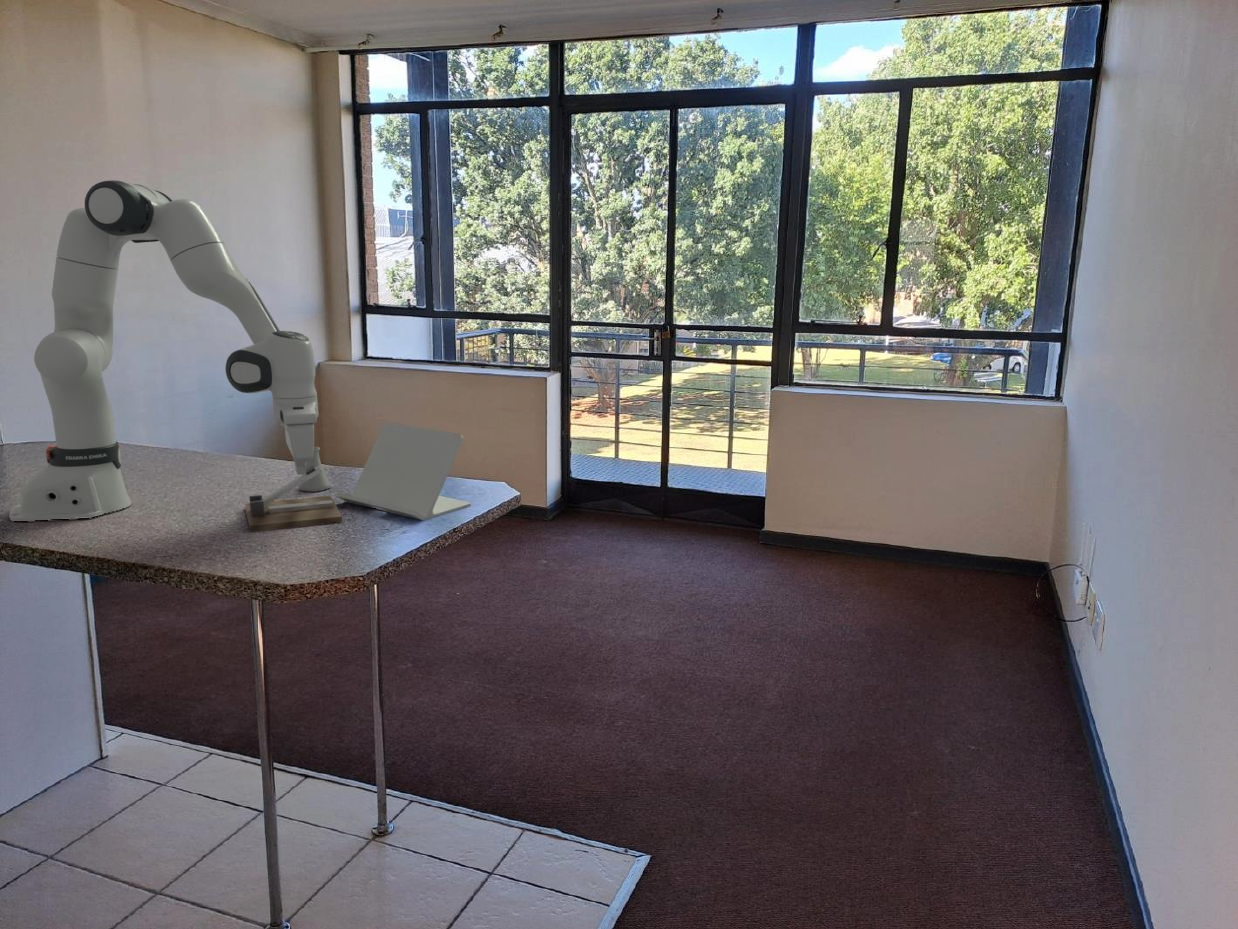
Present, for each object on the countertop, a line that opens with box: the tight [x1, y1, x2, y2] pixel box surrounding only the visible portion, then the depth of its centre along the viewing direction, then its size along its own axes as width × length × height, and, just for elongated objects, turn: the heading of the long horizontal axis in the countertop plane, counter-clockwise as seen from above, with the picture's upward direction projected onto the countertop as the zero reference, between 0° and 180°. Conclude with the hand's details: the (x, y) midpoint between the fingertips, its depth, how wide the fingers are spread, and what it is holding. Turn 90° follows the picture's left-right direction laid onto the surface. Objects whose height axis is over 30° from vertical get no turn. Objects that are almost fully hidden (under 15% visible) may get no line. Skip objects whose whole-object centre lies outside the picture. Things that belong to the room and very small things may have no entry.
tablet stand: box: [336, 421, 472, 522], centre depth 196 cm, size 18×25×17 cm
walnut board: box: [244, 495, 343, 532], centre depth 189 cm, size 18×18×1 cm
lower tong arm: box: [249, 494, 333, 517], centre depth 188 cm, size 16×6×3 cm, turn 115°
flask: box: [298, 446, 332, 493], centre depth 210 cm, size 7×7×10 cm
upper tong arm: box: [252, 466, 322, 506], centre depth 187 cm, size 16×4×2 cm, turn 114°
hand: (300, 473), depth 188 cm, fingers closed
